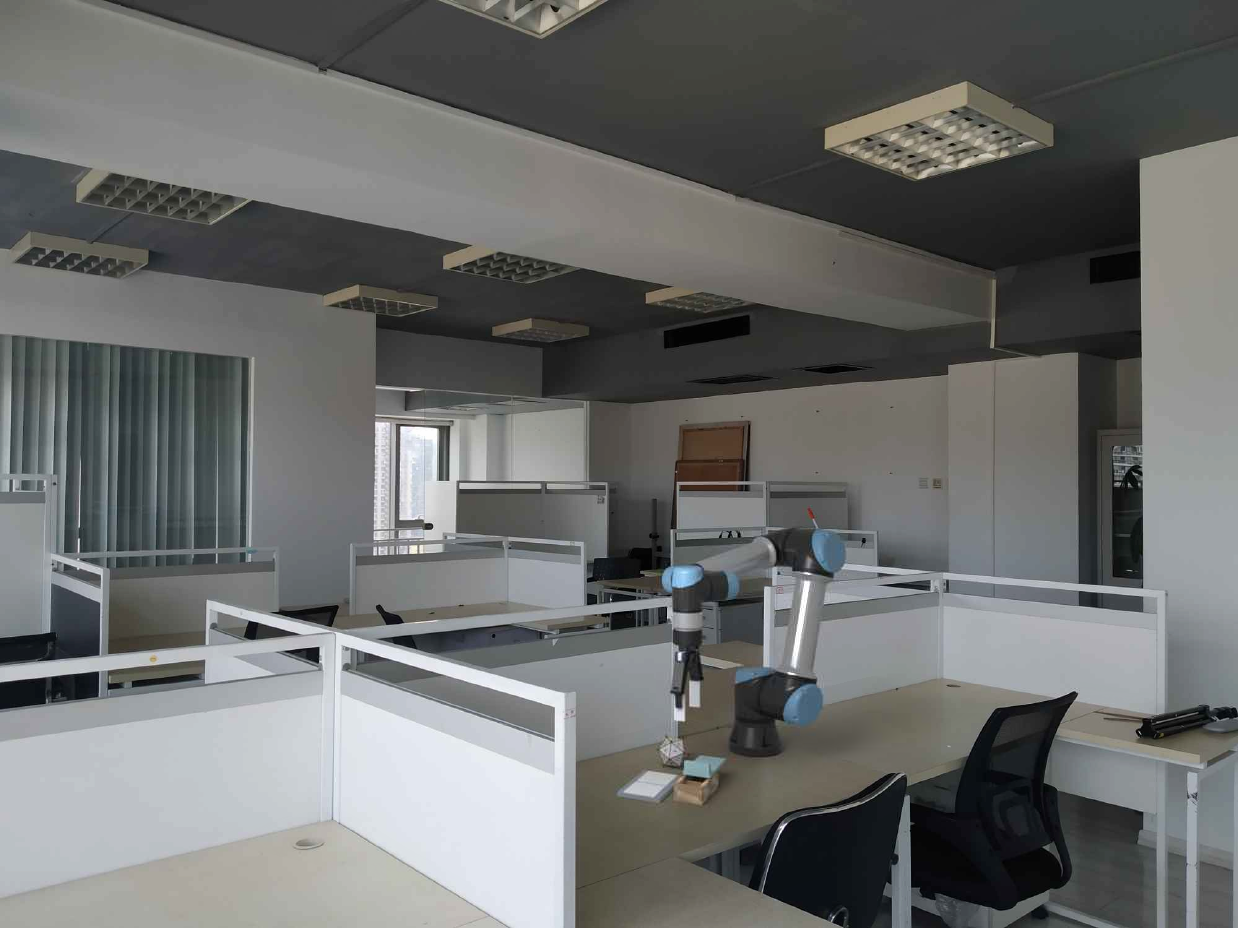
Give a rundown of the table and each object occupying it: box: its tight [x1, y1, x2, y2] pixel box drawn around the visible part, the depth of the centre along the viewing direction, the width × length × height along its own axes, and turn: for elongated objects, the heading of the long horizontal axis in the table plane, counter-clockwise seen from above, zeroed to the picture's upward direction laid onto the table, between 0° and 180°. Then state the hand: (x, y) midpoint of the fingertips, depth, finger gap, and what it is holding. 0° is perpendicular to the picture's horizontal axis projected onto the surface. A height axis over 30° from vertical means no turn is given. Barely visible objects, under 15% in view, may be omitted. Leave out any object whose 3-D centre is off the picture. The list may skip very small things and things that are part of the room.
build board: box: [616, 769, 683, 804], centre depth 224 cm, size 18×11×1 cm, turn 157°
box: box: [673, 770, 719, 806], centre depth 220 cm, size 14×7×4 cm, turn 157°
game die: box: [655, 734, 692, 770], centre depth 241 cm, size 9×8×10 cm
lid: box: [682, 754, 727, 778], centre depth 227 cm, size 14×7×3 cm, turn 157°
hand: (687, 713), depth 224 cm, fingers open, 13 cm apart
